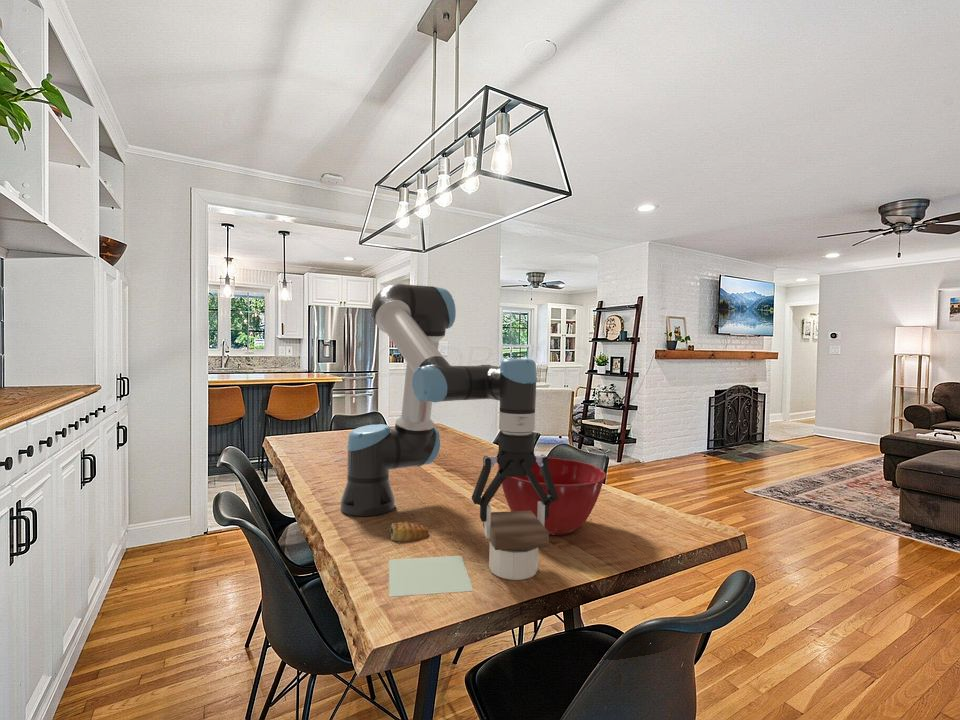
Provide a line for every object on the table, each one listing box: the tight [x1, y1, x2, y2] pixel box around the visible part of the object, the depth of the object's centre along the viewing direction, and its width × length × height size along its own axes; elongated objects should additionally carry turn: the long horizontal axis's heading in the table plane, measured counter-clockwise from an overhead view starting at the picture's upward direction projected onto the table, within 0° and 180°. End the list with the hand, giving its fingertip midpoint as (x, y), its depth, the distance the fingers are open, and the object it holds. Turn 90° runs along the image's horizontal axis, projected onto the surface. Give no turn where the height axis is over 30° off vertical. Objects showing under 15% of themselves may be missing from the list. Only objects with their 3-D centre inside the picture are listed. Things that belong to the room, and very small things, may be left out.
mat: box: [388, 555, 474, 598], centre depth 102 cm, size 16×16×1 cm
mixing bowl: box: [497, 457, 607, 536], centre depth 132 cm, size 28×28×16 cm
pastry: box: [389, 521, 429, 543], centre depth 122 cm, size 9×7×4 cm
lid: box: [482, 510, 550, 550], centre depth 105 cm, size 13×11×3 cm
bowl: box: [488, 540, 539, 581], centre depth 105 cm, size 10×10×6 cm
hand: (514, 534), depth 105 cm, fingers closed on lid, 11 cm apart
